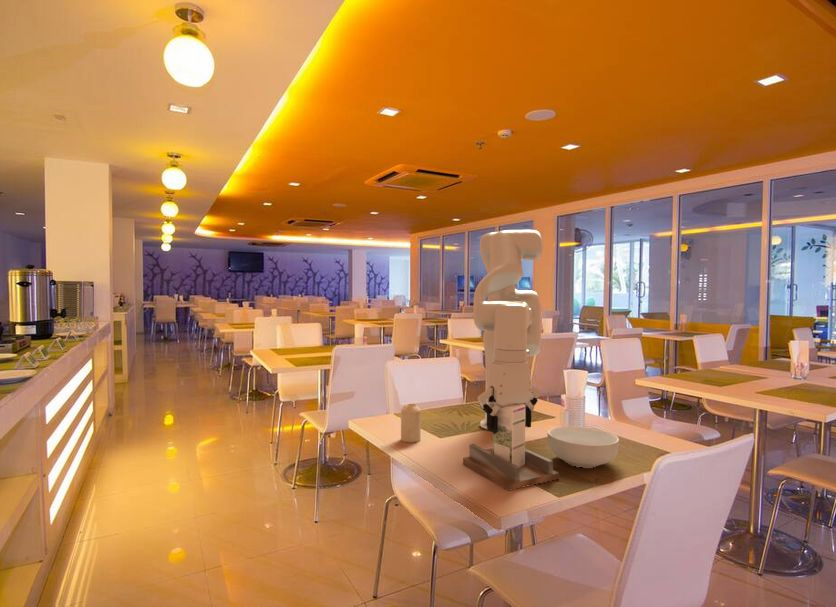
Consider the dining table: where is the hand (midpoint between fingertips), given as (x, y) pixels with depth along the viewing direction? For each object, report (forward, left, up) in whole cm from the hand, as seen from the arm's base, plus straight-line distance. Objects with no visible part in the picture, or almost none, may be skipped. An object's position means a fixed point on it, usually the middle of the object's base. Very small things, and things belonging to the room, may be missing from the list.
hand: (509, 428), depth 117 cm
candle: (+10, -32, -10) cm, 35 cm away
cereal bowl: (-20, +3, -10) cm, 22 cm away
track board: (0, 0, -10) cm, 10 cm away
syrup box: (0, 0, -9) cm, 9 cm away
